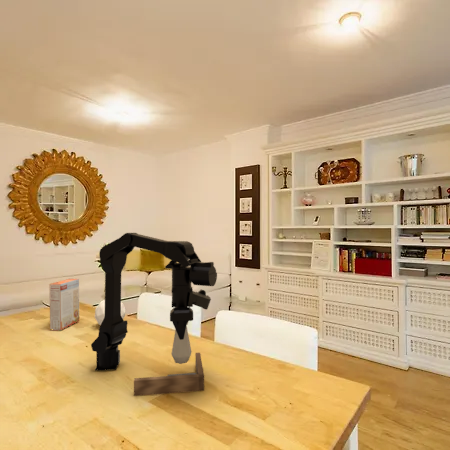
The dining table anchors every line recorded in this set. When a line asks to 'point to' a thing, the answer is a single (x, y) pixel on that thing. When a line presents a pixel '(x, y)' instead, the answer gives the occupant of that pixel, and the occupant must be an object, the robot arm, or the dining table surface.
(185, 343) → the salt shaker
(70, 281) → the cracker box
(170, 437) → the dining table surface
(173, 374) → the slate mat
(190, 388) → the corner walls
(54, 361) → the dining table surface
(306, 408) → the dining table surface
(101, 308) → the geodesic sphere
